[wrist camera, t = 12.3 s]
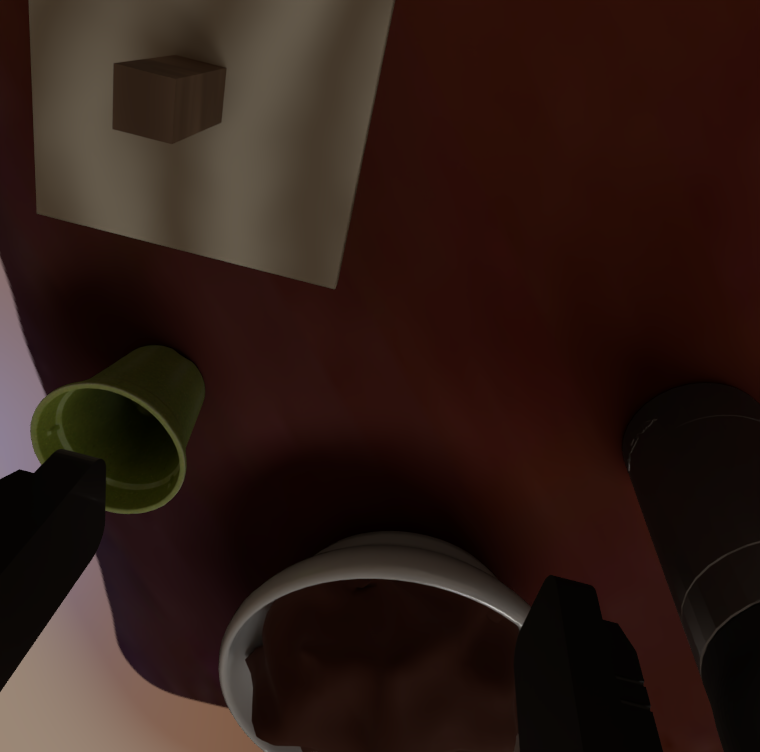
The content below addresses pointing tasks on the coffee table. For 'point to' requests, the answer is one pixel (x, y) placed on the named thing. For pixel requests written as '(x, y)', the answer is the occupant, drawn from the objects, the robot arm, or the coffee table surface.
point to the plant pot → (128, 425)
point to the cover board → (220, 167)
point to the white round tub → (377, 651)
